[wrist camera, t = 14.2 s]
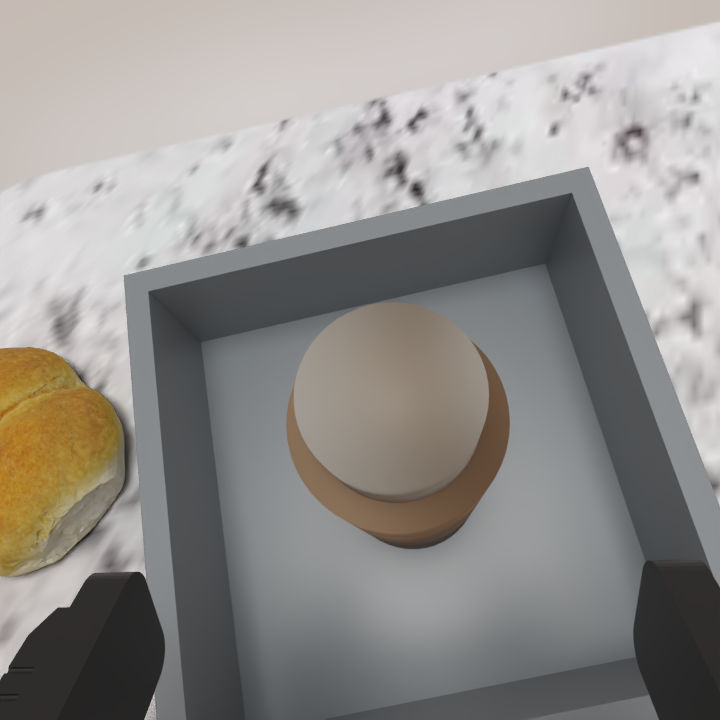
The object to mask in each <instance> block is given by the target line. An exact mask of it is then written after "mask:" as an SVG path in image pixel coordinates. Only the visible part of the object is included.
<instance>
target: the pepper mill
mask: <svg viewBox="0 0 720 720" xmlns="http://www.w3.org/2000/svg"><path fill="white" fill-rule="evenodd" d="M509 430H510V416H509V406H508V401H507V397H506V393H505V390H504V387H503V384H502V382H501V379H500V377H499V375H498V373H497V371H496V370H495V368H494V366H493V365H492V363H491V362H490V360H489V359H488V358H487V356H486V355H485V354H484V353H483V352H482V351H481V349H480V348H479V347H478V346H477V345H476V344H475V343H473V342H472V341H471V340H470V339H469V338H468V337H467V336H466V334H465V333H464V332H463V331H462V330H461V329H460V328H459V327H458V326H456V325H455V324H454V323H453V322H452V321H450V320H448V319H447V318H445V317H444V316H442V315H441V314H438V313H436V312H434V311H432V310H430V309H427V308H424V307H421V306H418V305H413V304H408V303H396V302H391V303H379V304H373V305H368V306H365V307H361V308H358V309H356V310H353V311H351V312H349V313H347V314H345V315H343V316H341V317H340V318H338V319H336V320H335V321H334V322H332V323H331V324H330V325H328V326H327V327H326V328H325V329H324V330H323V331H322V332H321V333H320V334H319V335H318V336H317V337H316V339H315V340H314V341H313V342H312V344H311V345H310V347H309V348H308V350H307V351H306V353H305V355H304V357H303V359H302V361H301V363H300V366H299V369H298V372H297V376H296V380H295V383H294V385H293V388H292V392H291V395H290V398H289V403H288V409H287V419H286V431H287V441H288V446H289V450H290V455H291V458H292V460H293V463H294V466H295V468H296V470H297V472H298V474H299V476H300V478H301V480H302V481H303V483H304V484H305V486H306V487H307V488H308V490H309V491H310V492H311V494H312V495H313V496H314V497H315V498H316V499H317V500H318V501H319V502H320V503H321V504H322V505H323V506H324V507H326V508H327V509H328V510H329V511H331V512H332V513H333V514H335V515H337V516H338V517H340V518H342V519H343V520H345V521H347V522H349V523H350V524H352V525H354V526H356V527H357V528H359V529H361V530H363V531H364V532H366V533H368V534H370V535H371V536H373V537H375V538H377V539H378V540H380V541H382V542H384V543H386V544H388V545H391V546H394V547H398V548H403V549H422V548H428V547H431V546H435V545H437V544H439V543H442V542H444V541H445V540H447V539H448V538H450V537H451V536H453V535H454V534H455V533H456V532H457V531H458V530H459V529H460V528H461V527H462V526H463V525H464V523H465V522H466V520H467V519H468V517H469V516H470V514H471V513H472V511H473V510H474V509H475V507H476V506H477V504H478V503H479V501H480V500H481V498H482V497H483V495H484V494H485V492H486V491H487V489H488V488H489V486H490V485H491V483H492V482H493V480H494V479H495V477H496V475H497V473H498V471H499V469H500V467H501V465H502V462H503V459H504V456H505V453H506V450H507V445H508V440H509Z"/></svg>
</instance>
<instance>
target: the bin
mask: <svg viewBox="0 0 720 720" xmlns="http://www.w3.org/2000/svg"><path fill="white" fill-rule="evenodd" d="M124 286H125V299H126V313H127V326H128V339H129V353H130V366H131V380H132V393H133V407H134V420H135V433H136V447H137V460H138V474H139V487H140V501H141V514H142V527H143V541H144V554H145V568H146V581H147V585H148V588H149V591H150V594H151V597H152V600H153V603H154V606H155V609H156V612H157V615H158V618H159V621H160V624H161V627H162V630H163V633H164V638H165V658H164V664H163V669H162V673H161V676H160V678H159V681H158V684H157V686H156V689H155V702H156V716H157V720H659V718H658V716H657V713H656V711H655V708H654V706H653V703H652V700H651V698H650V695H649V693H648V690H647V688H646V685H645V683H644V680H643V678H642V675H641V672H640V670H639V666H638V663H637V659H636V654H635V649H634V640H633V627H634V620H635V614H636V608H637V601H638V595H639V589H640V582H641V576H642V570H643V566H644V563H645V562H646V561H647V560H678V559H699V560H701V561H703V562H704V563H705V564H706V566H707V567H708V568H709V570H710V572H711V573H712V575H713V577H714V578H715V580H716V582H717V583H718V585H719V587H720V506H719V504H718V501H717V498H716V496H715V493H714V491H713V488H712V486H711V483H710V480H709V478H708V475H707V473H706V470H705V467H704V465H703V462H702V460H701V457H700V454H699V452H698V449H697V447H696V444H695V441H694V439H693V436H692V434H691V431H690V429H689V426H688V423H687V421H686V418H685V416H684V413H683V410H682V408H681V405H680V403H679V400H678V397H677V395H676V392H675V390H674V387H673V384H672V382H671V379H670V377H669V374H668V372H667V369H666V366H665V364H664V361H663V359H662V356H661V353H660V351H659V348H658V346H657V343H656V340H655V338H654V335H653V333H652V330H651V327H650V325H649V322H648V320H647V317H646V314H645V312H644V309H643V307H642V304H641V302H640V299H639V296H638V294H637V291H636V289H635V286H634V283H633V281H632V278H631V276H630V273H629V270H628V268H627V265H626V263H625V260H624V257H623V255H622V252H621V250H620V247H619V245H618V242H617V239H616V237H615V234H614V232H613V229H612V226H611V224H610V221H609V219H608V216H607V213H606V211H605V208H604V206H603V203H602V200H601V198H600V195H599V193H598V190H597V188H596V185H595V182H594V180H593V177H592V175H591V172H590V169H589V167H585V168H581V169H577V170H573V171H568V172H564V173H560V174H556V175H551V176H547V177H543V178H538V179H534V180H530V181H526V182H521V183H517V184H513V185H509V186H504V187H500V188H496V189H492V190H487V191H483V192H479V193H474V194H470V195H466V196H462V197H457V198H453V199H449V200H445V201H440V202H436V203H432V204H427V205H423V206H419V207H415V208H410V209H406V210H402V211H398V212H393V213H389V214H385V215H381V216H376V217H372V218H368V219H363V220H359V221H355V222H351V223H346V224H342V225H338V226H334V227H329V228H325V229H321V230H316V231H312V232H308V233H304V234H299V235H295V236H291V237H287V238H282V239H278V240H274V241H270V242H265V243H261V244H257V245H252V246H248V247H244V248H240V249H235V250H231V251H227V252H223V253H218V254H214V255H210V256H205V257H201V258H197V259H193V260H188V261H184V262H180V263H176V264H171V265H167V266H163V267H159V268H154V269H150V270H146V271H141V272H137V273H133V274H129V275H124ZM391 302H396V303H408V304H413V305H418V306H421V307H424V308H427V309H430V310H432V311H434V312H436V313H438V314H441V315H442V316H444V317H445V318H447V319H448V320H450V321H452V322H453V323H454V324H455V325H456V326H458V327H459V328H460V329H461V330H462V331H463V332H464V333H465V334H466V336H467V337H468V338H469V339H470V340H471V341H472V342H473V343H475V344H476V345H477V346H478V347H479V348H480V349H481V351H482V352H483V353H484V354H485V355H486V356H487V358H488V359H489V360H490V362H491V363H492V365H493V366H494V368H495V370H496V371H497V373H498V375H499V377H500V379H501V382H502V384H503V387H504V390H505V393H506V397H507V401H508V406H509V416H510V430H509V440H508V445H507V450H506V453H505V456H504V459H503V462H502V465H501V467H500V469H499V471H498V473H497V475H496V477H495V479H494V480H493V482H492V483H491V485H490V486H489V488H488V489H487V491H486V492H485V494H484V495H483V497H482V498H481V500H480V501H479V503H478V504H477V506H476V507H475V509H474V510H473V511H472V513H471V514H470V516H469V517H468V519H467V520H466V522H465V523H464V525H463V526H462V527H461V528H460V529H459V530H458V531H457V532H456V533H455V534H454V535H453V536H451V537H450V538H448V539H447V540H445V541H444V542H442V543H439V544H437V545H435V546H431V547H428V548H422V549H403V548H398V547H394V546H391V545H388V544H386V543H384V542H382V541H380V540H378V539H377V538H375V537H373V536H371V535H370V534H368V533H366V532H364V531H363V530H361V529H359V528H357V527H356V526H354V525H352V524H350V523H349V522H347V521H345V520H343V519H342V518H340V517H338V516H337V515H335V514H333V513H332V512H331V511H329V510H328V509H327V508H326V507H324V506H323V505H322V504H321V503H320V502H319V501H318V500H317V499H316V498H315V497H314V496H313V495H312V494H311V492H310V491H309V490H308V488H307V487H306V486H305V484H304V483H303V481H302V480H301V478H300V476H299V474H298V472H297V470H296V468H295V466H294V463H293V460H292V458H291V455H290V450H289V446H288V441H287V431H286V419H287V409H288V403H289V398H290V395H291V392H292V388H293V385H294V383H295V380H296V376H297V372H298V369H299V366H300V363H301V361H302V359H303V357H304V355H305V353H306V351H307V350H308V348H309V347H310V345H311V344H312V342H313V341H314V340H315V339H316V337H317V336H318V335H319V334H320V333H321V332H322V331H323V330H324V329H325V328H326V327H327V326H328V325H330V324H331V323H332V322H334V321H335V320H336V319H338V318H340V317H341V316H343V315H345V314H347V313H349V312H351V311H353V310H356V309H358V308H361V307H365V306H368V305H373V304H379V303H391Z"/></svg>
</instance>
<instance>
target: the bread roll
mask: <svg viewBox="0 0 720 720" xmlns="http://www.w3.org/2000/svg"><path fill="white" fill-rule="evenodd" d="M124 479H125V459H124V433H123V427H122V425H121V422H120V420H119V418H118V416H117V414H116V412H115V410H114V408H113V406H112V404H111V403H110V402H109V401H108V400H107V399H106V398H105V397H104V396H103V395H102V394H100V393H99V392H97V391H95V390H93V389H90V388H88V387H87V386H86V385H85V384H84V383H83V382H82V381H81V380H80V379H79V377H78V376H77V374H76V372H75V371H74V370H73V369H72V367H71V366H70V365H69V364H68V363H67V362H66V361H65V360H64V359H63V358H62V357H60V356H58V355H57V354H55V353H53V352H50V351H47V350H44V349H38V348H31V347H26V348H3V349H0V576H5V577H16V576H20V575H23V574H26V573H29V572H32V571H34V570H37V569H40V568H42V567H44V566H46V565H50V564H53V563H55V562H56V561H58V560H60V559H61V558H62V557H63V556H64V555H65V554H66V553H67V552H68V551H70V550H71V548H72V547H73V546H74V545H75V544H76V543H77V542H78V541H79V540H81V539H82V538H83V537H84V536H85V535H86V534H88V533H89V532H90V531H91V529H92V528H93V527H94V526H95V525H96V524H97V522H98V521H99V520H100V519H101V517H102V516H103V515H104V514H105V512H106V511H107V510H108V508H109V507H110V505H111V504H112V503H113V502H114V501H115V499H116V497H117V495H118V494H119V492H120V491H121V489H122V487H123V484H124Z"/></svg>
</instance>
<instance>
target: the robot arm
mask: <svg viewBox="0 0 720 720" xmlns="http://www.w3.org/2000/svg"><path fill="white" fill-rule="evenodd" d="M633 640H634V649H635V654H636V659H637V663H638V666H639V670H640V672H641V675H642V678H643V680H644V683H645V685H646V688H647V690H648V693H649V695H650V698H651V700H652V703H653V706H654V708H655V711H656V713H657V716H658V718H659V720H720V587H719V585H718V583H717V582H716V580H715V578H714V577H713V575H712V573H711V572H710V570H709V568H708V567H707V566H706V564H705V563H704V562H703V561H701V560H699V559H678V560H647V561H646V562H645V563H644V566H643V570H642V576H641V582H640V589H639V595H638V601H637V608H636V614H635V620H634V627H633ZM164 658H165V638H164V633H163V630H162V627H161V624H160V621H159V618H158V615H157V612H156V609H155V606H154V603H153V600H152V597H151V594H150V591H149V588H148V585H147V582H146V579H145V577H144V576H143V574H142V573H140V572H116V573H94V574H92V575H90V576H89V577H88V578H87V579H86V581H85V582H84V584H83V586H82V587H81V589H80V591H79V592H78V594H77V596H76V598H75V599H74V601H73V603H72V604H71V606H70V607H68V608H57V609H56V610H55V611H54V612H53V613H52V614H51V615H49V616H48V617H47V618H46V619H45V620H44V621H43V622H42V623H41V624H40V625H39V626H38V627H37V628H36V629H35V630H33V631H32V632H31V633H30V634H29V635H28V637H27V638H26V640H25V641H24V643H23V645H22V646H21V648H20V649H19V651H18V653H17V654H16V656H15V657H14V659H13V661H12V662H11V664H10V665H9V670H8V673H7V674H4V675H3V676H2V678H1V680H0V720H144V718H145V716H146V713H147V710H148V708H149V705H150V702H151V700H152V697H153V694H154V692H155V689H156V686H157V684H158V681H159V678H160V676H161V673H162V669H163V664H164Z"/></svg>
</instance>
